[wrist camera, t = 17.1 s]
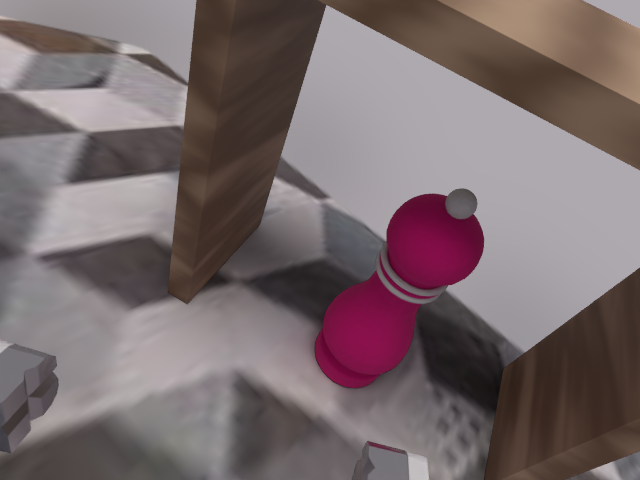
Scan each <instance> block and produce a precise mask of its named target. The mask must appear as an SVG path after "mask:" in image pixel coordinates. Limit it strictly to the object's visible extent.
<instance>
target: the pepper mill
mask: <svg viewBox="0 0 640 480" xmlns="http://www.w3.org/2000/svg"><path fill="white" fill-rule="evenodd" d="M476 208H477V199H476V197H475V195H474V194H473V193H472V192H471V191H469V190H467V189H456V190H454V191H452V192H451V193H450V194H449V195H448V196H444V195H440V194H424V195H420V196H417V197H414V198H412V199H410V200H408V201H407V202H405V203H404V204H403V205H402V206H401V207H400V208H399V209H398V210H397V211H396V212H395V214H394V215H393V217H392V219H391V220H390V223H389V225H388V228H387V241H386V242H385V243H384V245H383V247H382V249H381V250H380V251H379V253H378V255H377V258H376V271H375V272H374V274H373V275H372V276H371V277H370V279H368V280H367V281H365V282H362V283H359V284H356V285H354V286H352V287H350V288H348V289H346V290H344V291H343V292H342V293H340V294H339V295H338V296H337V297H336V298H335V299H334V300H333V302H332V303H331V304H330V305H329V307H328V308H327V310H326V312H325V315H324V320H323V328H322V330H321V331H320V333H319V335H318V337H317V339H316V343H315V354H316V359H317V361H318V363H319V366H320V367H321V369H322V370H323V372H324V373H325V374H326V375H327V376H328V377H329V378H330V379H331V380H333V381H334V382H336V383H338V384H340V385H342V386H345V387H349V388H360V387H364V386H367V385H369V384H370V383H372V382H373V381H374V380H375V379H376V378H377V377H378V376H379V375H380V374H381V373H385V372H387V371H389V370H391V369H393V368H394V367H396V366H397V365H398V364H399V363H400V362H401V361H402V359H403V358H404V356H405V355H406V353H407V352H408V350H409V347H410V344H411V341H412V338H413V334H414V327H415V318H416V314H417V311H418V309H419V307H420V306H421V304H425V303H430V302H432V301H434V300H436V299H437V298H438V297H439V296H440V295H441V293H442V292H443V291H444V290H445V289H446V288H447V287H448V285H452V284H455V283H457V282H459V281H461V280H463V279H465V278H466V277H467V276H468V275H469V274H471V272H472V271H473V270H474V269H475V267H476V266H477V264H478V262H479V260H480V258H481V256H482V253H483V248H484V236H483V231H482V228H481V226H480V224H479V222H478V220H477V218H476V217H475V215H474V214H473V213H474V212H475V211H476Z"/></svg>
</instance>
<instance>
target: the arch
mask: <svg viewBox="0 0 640 480" xmlns="http://www.w3.org/2000/svg"><path fill="white" fill-rule="evenodd" d="M326 5H328V6H330V7H332V8H334V9H335V10H338V11H339V12H341V13H343V14H345V15H347V16H349V17H351V18H353V19H355V20H356V21H358V22H360V23H362V24H364V25H366V26H368V27H370V28H372V29H373V30H375V31H377V32H379V33H381V34H383V35H385V36H387V37H389V38H391V39H392V40H394V41H396V42H398V43H400V44H402V45H404V46H406V47H407V48H409V49H411V50H413V51H415V52H417V53H419V54H421V55H423V56H424V57H426V58H428V59H430V60H432V61H434V62H436V63H438V64H440V65H442V66H443V67H445V68H447V69H449V70H451V71H453V72H455V73H457V74H459V75H460V76H462V77H464V78H466V79H468V80H470V81H472V82H474V83H476V84H477V85H479V86H481V87H483V88H485V89H487V90H489V91H491V92H493V93H495V94H497V95H499V96H500V97H502V98H504V99H506V100H508V101H510V102H512V103H514V104H515V105H517V106H519V107H521V108H523V109H525V110H527V111H529V112H530V113H533V114H535V115H537V116H538V117H540V118H542V119H544V120H546V121H548V122H549V123H551V124H553V125H555V126H557V127H559V128H561V129H563V130H565V131H567V132H568V133H570V134H572V135H574V136H576V137H578V138H580V139H582V140H584V141H585V142H587V143H589V144H591V145H593V146H595V147H597V148H599V149H601V150H602V151H604V152H606V153H608V154H610V155H612V156H614V157H616V158H618V159H620V160H621V161H623V162H625V163H627V164H629V165H631V166H633V167H635V168H637V169H639V170H640V29H639V28H637V27H635V26H633V25H631V24H629V23H627V22H625V21H623V20H621V19H619V18H617V17H615V16H613V15H611V14H609V13H606V12H605V11H603V10H601V9H598V8H596V7H594V6H592V5H591V4H589V3H586V2H584V1H582V0H197V2H196V11H195V21H194V31H193V42H192V52H191V62H190V72H189V82H188V92H187V102H186V112H185V123H184V133H183V143H182V153H181V163H180V173H179V183H178V193H177V204H176V214H175V224H174V234H173V244H172V254H171V264H170V274H169V285H168V293H170V294H172V295H173V296H175V297H176V298H178V299H180V300H181V301H183V302H185V303H186V304H188V303H189V302H190V301H191V300H192V299H193V297H194V296H195V295H196V294H197V293H198V292H199V291H200V290H201V289H202V288H203V286H204V285H205V284H206V283H207V282H208V281H209V280H210V279H211V278H212V277H213V276H214V274H215V273H216V272H217V271H218V270H219V269H220V268H221V267H222V266H223V265H224V263H225V262H226V261H227V260H228V259H229V258H230V257H231V256H232V255H233V254H234V252H235V251H236V250H237V249H238V248H239V247H240V246H241V245H242V244H243V243H244V242H245V240H246V239H247V238H248V237H249V236H250V235H251V234H252V233H253V232H254V231H255V229H256V228H257V227H258V226H259V225H260V222H261V219H262V216H263V213H264V209H265V206H266V203H267V199H268V196H269V193H270V189H271V186H272V183H273V180H274V176H275V173H276V170H277V166H278V163H279V160H280V156H281V153H282V150H283V146H284V143H285V140H286V137H287V133H288V130H289V127H290V123H291V120H292V117H293V113H294V110H295V107H296V104H297V100H298V97H299V93H300V90H301V87H302V84H303V80H304V77H305V73H306V70H307V67H308V64H309V61H310V57H311V54H312V51H313V47H314V44H315V41H316V37H317V34H318V31H319V27H320V24H321V21H322V17H323V14H324V11H325V8H326ZM639 451H640V268H639V269H637V270H636V271H635V272H633V273H632V274H631V275H629V276H628V277H627V278H625V279H624V280H623V281H621V282H620V283H618V284H617V285H616V286H614V287H613V288H612V289H610V290H609V291H608V292H606V293H605V294H604V295H602V296H601V297H600V298H598V299H597V300H595V301H594V302H593V303H592V304H590V305H589V306H588V307H586V308H585V309H583V310H582V311H581V312H579V313H578V314H577V315H575V316H574V317H573V318H571V319H570V320H568V321H567V322H566V323H565V324H563V325H562V326H560V327H559V328H558V329H556V330H555V331H554V332H552V333H551V334H550V335H548V336H547V337H546V338H544V339H543V340H541V341H540V342H539V343H538V344H536V345H535V346H534V347H532V348H531V349H530V350H528V351H527V352H525V353H524V354H523V355H521V356H520V357H519V358H517V359H516V360H515V361H513V362H512V363H510V364H509V365H508V366H506V367H505V368H504V369H503V374H502V380H501V386H500V391H499V397H498V403H497V409H496V414H495V420H494V426H493V432H492V437H491V443H490V449H489V455H488V460H487V466H486V472H485V478H484V480H565V479H568V478H570V477H573V476H575V475H578V474H581V473H583V472H586V471H589V470H591V469H594V468H597V467H599V466H602V465H604V464H607V463H610V462H612V461H615V460H618V459H620V458H623V457H626V456H628V455H631V454H633V453H636V452H639Z"/></svg>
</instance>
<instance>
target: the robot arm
mask: <svg viewBox="0 0 640 480" xmlns="http://www.w3.org/2000/svg"><path fill="white" fill-rule="evenodd" d="M56 366H57V362H56V356H52V355H49V354H46V353H43V352H39V351H36V350H33V349H29V348H26V347H23V346H19V345H16V344H13V343H9V342H6V341H2V340H0V451H3V452H7V453H12V452H13V451H14V449H15V448H16V447H17V446H18V445H19V443H20V442H21V441H22V440H23V439H24V437H25V436H26V435H27V434H28V433H29V432H30V430H31V421H32V420H34V419H36V418H38V417H40V416H42V415H44V413H45V412H46V411H47V410H48V408H49V407H50V406H51V404H52V402H53V400H54V398H55V396H56V394H57V390H58V378H57V376H56V375H55V374H54V373H53V370H54V369H55V368H56ZM352 480H429V471H428V461H427V459H426V457H424V456H421V455H417V454H413V453H409V452H405V451H404V450H400V449H396V448H392V447H388V446H385V445H381V444H377V443H373V442H369V441H367V442H366V443H365V446H364V448H363V451H362V459H360V460H358V462H357V464H356V467H355V469H354V473H353V477H352Z"/></svg>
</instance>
